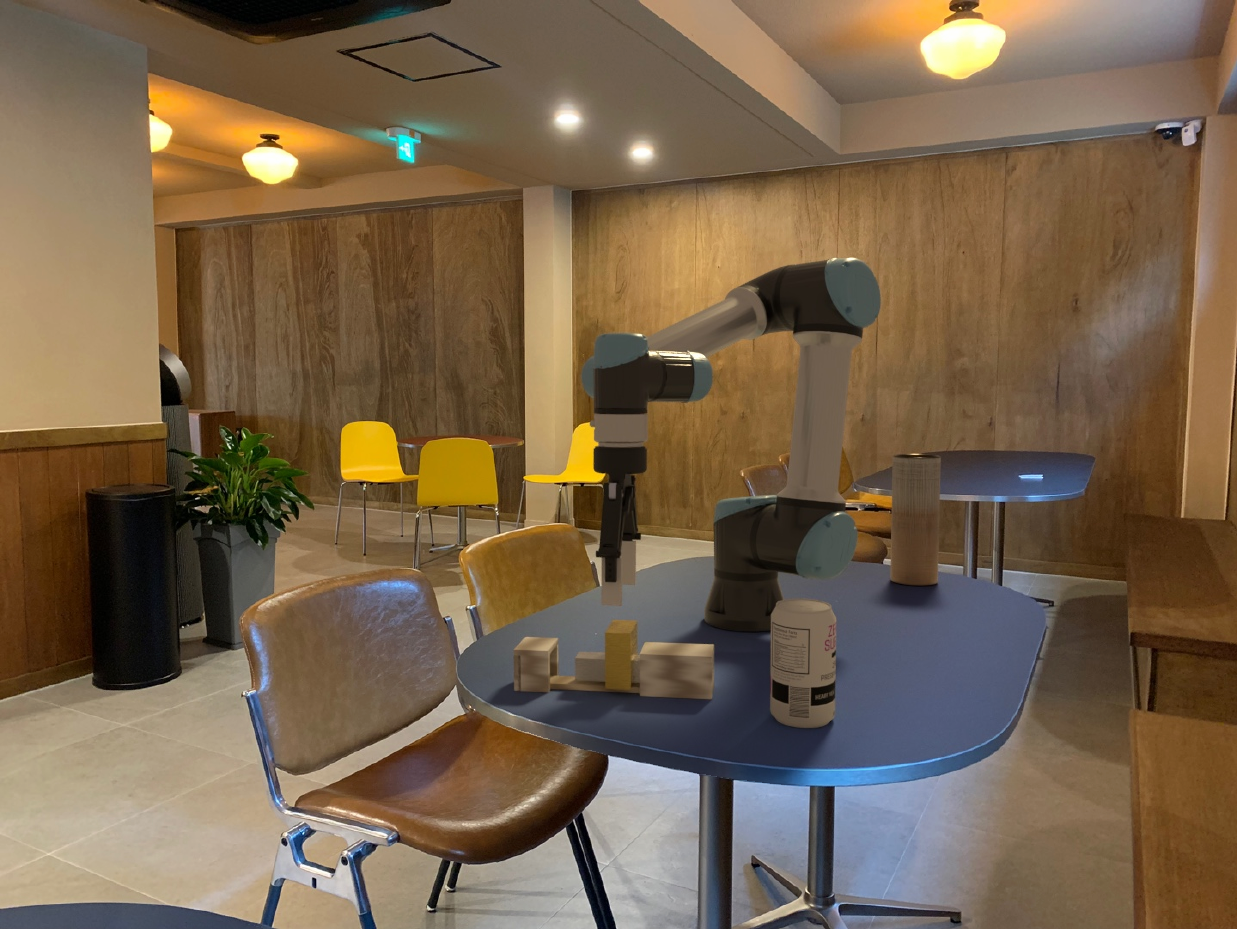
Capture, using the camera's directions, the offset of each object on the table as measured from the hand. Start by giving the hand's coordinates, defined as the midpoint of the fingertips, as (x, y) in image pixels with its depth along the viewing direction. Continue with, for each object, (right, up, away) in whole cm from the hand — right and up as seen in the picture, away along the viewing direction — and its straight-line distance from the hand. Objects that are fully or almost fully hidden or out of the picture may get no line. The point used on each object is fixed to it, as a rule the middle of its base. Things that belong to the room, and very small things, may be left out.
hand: (619, 594), depth 128 cm
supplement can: (+24, -15, -11) cm, 30 cm away
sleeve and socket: (-1, -14, +2) cm, 14 cm away
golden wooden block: (+4, -13, +1) cm, 13 cm away
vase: (+65, -8, +71) cm, 96 cm away
